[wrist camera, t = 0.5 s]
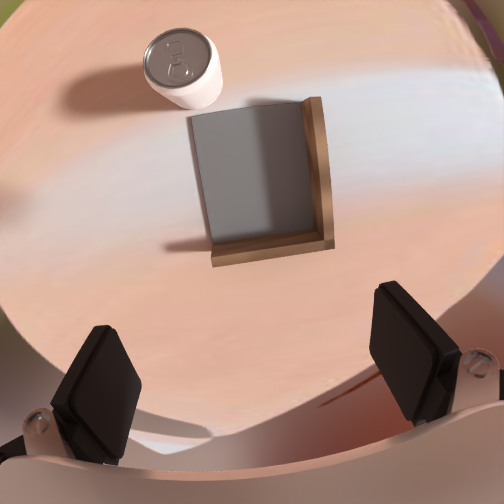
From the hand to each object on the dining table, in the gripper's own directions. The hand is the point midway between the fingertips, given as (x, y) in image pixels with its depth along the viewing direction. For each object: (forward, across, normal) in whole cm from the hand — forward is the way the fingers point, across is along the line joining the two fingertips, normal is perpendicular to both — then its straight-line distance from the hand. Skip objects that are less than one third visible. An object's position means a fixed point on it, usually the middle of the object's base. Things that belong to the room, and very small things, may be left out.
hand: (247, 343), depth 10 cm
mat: (+27, -3, -2) cm, 27 cm away
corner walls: (+27, -3, -2) cm, 27 cm away
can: (+27, +3, -14) cm, 31 cm away
